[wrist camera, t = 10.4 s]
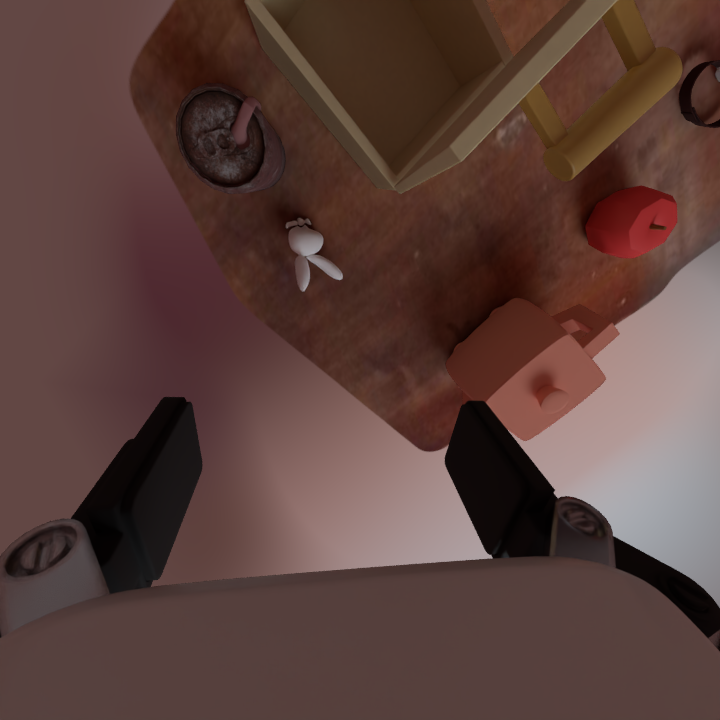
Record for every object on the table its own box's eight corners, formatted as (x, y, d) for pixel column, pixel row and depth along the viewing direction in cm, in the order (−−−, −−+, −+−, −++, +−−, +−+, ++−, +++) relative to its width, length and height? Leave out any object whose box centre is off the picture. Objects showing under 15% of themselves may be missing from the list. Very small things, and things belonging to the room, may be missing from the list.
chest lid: (448, 145, 12) (522, 246, 14) (797, -227, 9) (842, -39, 11) (393, 187, 27) (432, 233, 29) (516, 54, 24) (552, 114, 26)
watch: (734, 98, 36) (775, 91, 33) (697, 142, 37) (732, 138, 34) (701, 49, 33) (742, 36, 30) (663, 98, 35) (698, 90, 32)
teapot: (462, 414, 54) (506, 483, 42) (411, 377, 49) (445, 443, 36) (572, 319, 47) (663, 368, 35) (528, 264, 42) (616, 299, 30)
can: (298, 145, 32) (290, 124, 20) (267, 201, 35) (244, 213, 22) (242, 99, 30) (196, 45, 18) (213, 163, 32) (154, 152, 20)
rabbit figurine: (326, 209, 36) (351, 276, 36) (312, 226, 39) (335, 288, 39) (278, 213, 32) (306, 287, 33) (267, 231, 36) (293, 298, 36)
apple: (581, 190, 38) (640, 193, 32) (643, 179, 39) (715, 179, 32) (569, 257, 42) (619, 272, 36) (625, 246, 43) (686, 259, 36)
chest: (261, 48, 29) (243, 0, 21) (360, -96, 25) (382, -214, 18) (377, 188, 35) (395, 190, 28) (467, 89, 32) (515, 60, 24)
